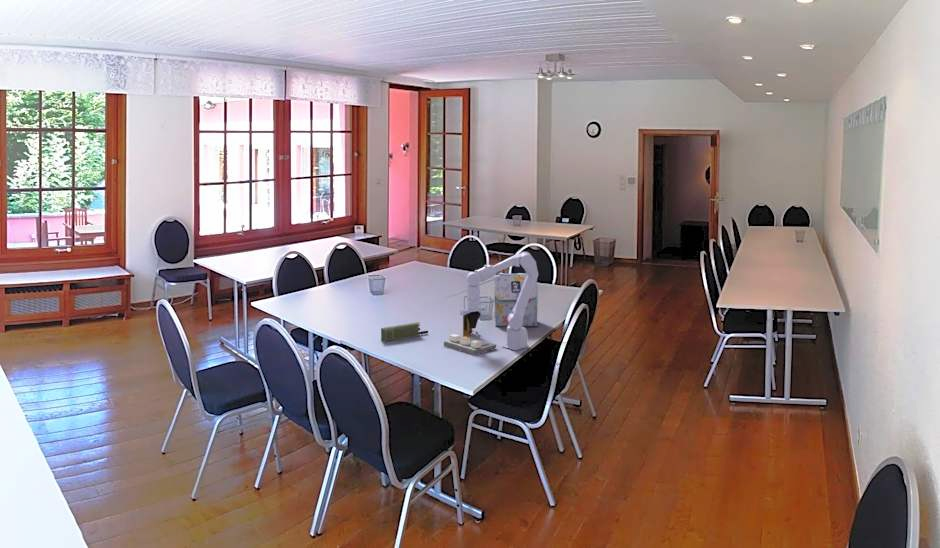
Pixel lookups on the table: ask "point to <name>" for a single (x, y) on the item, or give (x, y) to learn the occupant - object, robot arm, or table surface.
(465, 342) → the lever
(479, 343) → the lever
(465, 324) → the multimeter
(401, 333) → the handheld radio
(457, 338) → the lever
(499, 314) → the lunch bag
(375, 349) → the table surface
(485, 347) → the breaker panel
